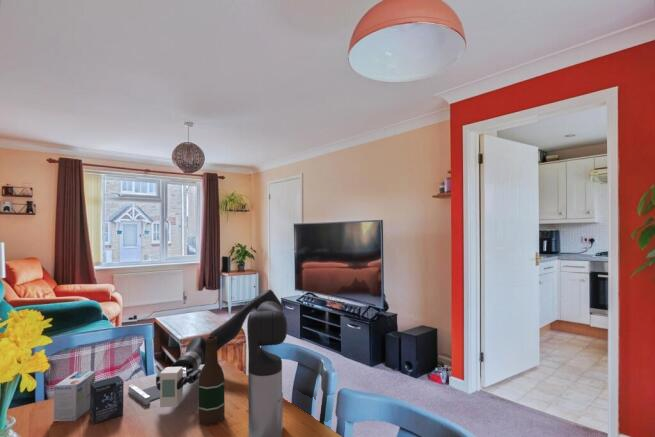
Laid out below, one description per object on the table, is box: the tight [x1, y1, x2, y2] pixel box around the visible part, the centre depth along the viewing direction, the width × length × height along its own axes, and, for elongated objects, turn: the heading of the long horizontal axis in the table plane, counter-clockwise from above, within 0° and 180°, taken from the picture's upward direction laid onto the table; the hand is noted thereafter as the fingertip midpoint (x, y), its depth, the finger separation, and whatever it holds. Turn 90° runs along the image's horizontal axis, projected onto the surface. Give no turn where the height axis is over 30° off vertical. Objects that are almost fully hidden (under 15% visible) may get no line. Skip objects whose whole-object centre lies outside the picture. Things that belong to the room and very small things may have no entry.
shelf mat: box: [141, 384, 160, 402], centre depth 128 cm, size 12×10×1 cm
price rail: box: [128, 384, 151, 407], centre depth 124 cm, size 2×14×2 cm, turn 48°
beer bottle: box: [198, 336, 226, 427], centre depth 110 cm, size 8×8×24 cm
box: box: [89, 375, 125, 425], centre depth 112 cm, size 8×6×11 cm
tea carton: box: [159, 366, 184, 408], centre depth 113 cm, size 5×5×10 cm
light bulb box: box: [53, 370, 96, 422], centre depth 114 cm, size 11×7×11 cm, turn 5°
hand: (168, 386), depth 111 cm, fingers closed on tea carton, 5 cm apart
